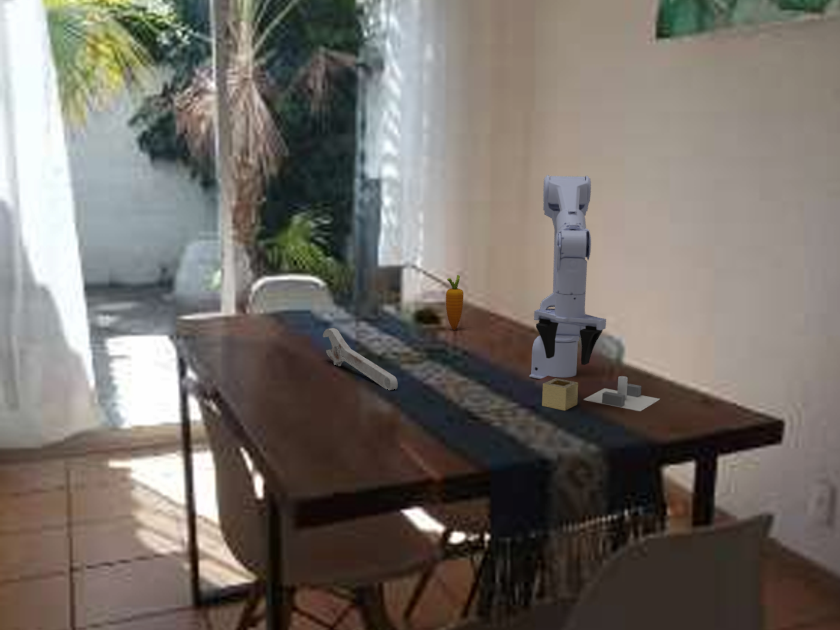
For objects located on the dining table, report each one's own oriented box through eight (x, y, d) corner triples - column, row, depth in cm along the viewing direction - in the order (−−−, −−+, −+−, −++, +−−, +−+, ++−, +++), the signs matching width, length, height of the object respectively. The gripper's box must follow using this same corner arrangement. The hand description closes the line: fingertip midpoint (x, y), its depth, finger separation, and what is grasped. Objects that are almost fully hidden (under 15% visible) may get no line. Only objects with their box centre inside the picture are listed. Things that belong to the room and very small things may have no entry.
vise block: (582, 405, 178) (584, 377, 177) (604, 393, 186) (605, 367, 185) (639, 417, 171) (641, 388, 170) (659, 404, 179) (661, 377, 178)
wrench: (389, 404, 187) (321, 357, 211) (396, 403, 188) (328, 356, 212) (392, 368, 185) (323, 325, 208) (399, 367, 186) (329, 324, 209)
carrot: (448, 332, 240) (448, 277, 237) (442, 328, 245) (443, 274, 242) (465, 331, 242) (466, 276, 238) (459, 327, 246) (461, 273, 243)
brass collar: (541, 408, 174) (542, 383, 173) (554, 402, 178) (555, 378, 177) (565, 413, 171) (566, 388, 170) (577, 407, 175) (578, 382, 174)
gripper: (527, 290, 174) (524, 358, 177) (595, 300, 166) (592, 371, 168) (545, 285, 180) (542, 351, 182) (612, 294, 171) (608, 363, 174)
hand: (567, 360), depth 176 cm, fingers open, 7 cm apart
